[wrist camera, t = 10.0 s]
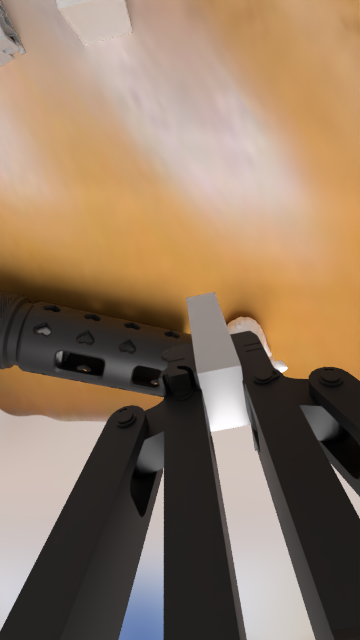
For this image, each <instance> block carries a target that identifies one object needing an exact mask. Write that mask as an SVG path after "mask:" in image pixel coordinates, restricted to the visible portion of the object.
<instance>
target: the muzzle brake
mask: <svg viewBox="0 0 360 640" xmlns="http://www.w3.org/2000/svg"><path fill="white" fill-rule="evenodd" d="M190 343H192V336H191V334H187V333H183V332H178V331H174V330H169V329H165V328H160V327H156V326H151V325H146V324H142V323H137V322H133V321H128V320H124V319H119V318H115V317H110V316H106V315H101V314H97V313H92V312H88V311H83V310H79V309H74V308H69V307H65V306H60V305H56V304H51V303H47V302H43V301H40V302H37V303H35V304H33V303H31V302H30V300H29V299H28V298H26V297H25V296H24V295H21V294H17V293H12V292H8V291H3V290H0V369H5V368H11V367H12V366H13V365H17V366H19V368H20V369H21V370H22V371H26V372H32V373H37V374H42V375H48V376H53V377H59V378H64V379H69V380H75V381H81V382H85V383H91V384H96V385H101V386H107V387H112V388H119V389H123V390H128V391H133V392H139V393H144V394H149V395H157V396H160V397H164V395H163V392H162V389H161V385H160V382H159V376H160V374H161V373H162V372H163V370H165V369H166V368H167V363H168V362H167V354H168V352H169V351H170V349H171V348H172V347H175V346H180V345H185V344H190ZM83 369H85V370H86V371H84V370H83ZM155 383H157V384H155Z"/></svg>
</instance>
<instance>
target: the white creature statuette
mask: <svg viewBox="0 0 360 640" xmlns="http://www.w3.org/2000/svg"><path fill="white" fill-rule="evenodd" d="M227 328H228V331H229V333H230V334H235V333H240V332H245V331H251V332H253V333H255V334H256V335H258V337H259V339H260V341H261V343H262V345H263V347H264V349H265V351H266V353H267V355H268V357H269V359H270V361H271V363H272V365H273V366H274V368H275V369H277V370H279V371H280V372H284V371H285V370H287V369H288V367H287V366H286V365H285V364H284V363H283V361H282V360H277V361H274V357H271V355H272V353H271V352H270V349H269V347H268V346H267V343H266V340H265V339H266V338H265V335H264V333H263V330H262V329H261V326H260V325H259V324H257V322H256V321H255V320H253V319H252V318H250V317H239V318H236V319H235V320H232V321H231V322H230V323H228V325H227Z"/></svg>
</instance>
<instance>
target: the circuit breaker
mask: <svg viewBox="0 0 360 640" xmlns="http://www.w3.org/2000/svg"><path fill="white" fill-rule="evenodd" d="M5 20H6V21H5ZM6 22H7V23H6ZM7 24H8V25H7ZM11 37H13V38H14V40H15V42H13V40H12V39H10V38H11ZM18 51H20V53H21V54H22V55H23V54H25V53H26V52H25V50H24V48H23V46H22V43H21V41H20V39H19V37H18V35H17V33H16V31H15V29H14V27H13V25H12V23H11V21H10V19H9V17H8V15H7V12H6V10H5V8H4V6H3V4H2V2H1V0H0V66H2V65H4V64H6V63H7V62H9V61H11V60H13V59H14V57H13V55H12V54H14V53H16V52H18Z"/></svg>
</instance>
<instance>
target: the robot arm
mask: <svg viewBox="0 0 360 640" xmlns="http://www.w3.org/2000/svg"><path fill="white" fill-rule="evenodd" d="M186 301H187V308H188V315H189V322H190V329H191V336H192V343H190V344H185V345H180V346H175V347H172V348H171V349H170V351H169V352H168V354H167V362H168V363H167V368H166V369H165V370H163V372H162V373H161V374H160V376H159V382H160V385H161V389H162V392H163V395H164V399H163V401H162V402H160V403H159V404H158V405H156V406H154V407H153V408H150V409H148V410H146V411H144V410H143V409H142V408H140V407H139V406H133V405H131V406H125V407H123V408H121V409H118V410H117V411H116V412H114V413H113V414H112V415H111V416H110V418H109V419H108V421H107V423H106V425H105V427H104V429H103V431H102V433H101V435H100V437H99V439H98V441H97V443H96V445H95V446H94V448H93V450H92V452H91V454H90V456H89V458H88V460H87V462H86V464H85V466H84V468H83V470H82V472H81V474H80V476H79V478H78V480H77V482H76V484H75V486H74V488H73V490H72V492H71V493H70V495H69V497H68V499H67V501H66V504H65V505H64V507H63V509H62V511H61V513H60V515H59V517H58V519H57V521H56V523H55V525H54V527H53V529H52V531H51V533H50V535H49V537H48V539H47V541H46V543H45V545H44V546H43V548H42V550H41V552H40V554H39V556H38V558H37V560H36V562H35V564H34V566H33V568H32V570H31V572H30V574H29V576H28V578H27V580H26V582H25V584H24V586H23V588H22V590H21V592H20V594H19V596H18V598H17V600H16V602H15V603H14V605H13V607H12V609H11V611H10V613H9V615H8V617H7V619H6V621H5V623H4V625H3V627H2V629H1V631H0V640H118V639H119V635H120V631H121V627H122V623H123V620H124V616H125V612H126V608H127V605H128V601H129V597H130V593H131V590H132V586H133V582H134V579H135V575H136V571H137V567H138V564H139V560H140V556H141V552H142V549H143V545H144V541H145V537H146V533H147V530H148V526H149V522H150V519H151V515H152V511H153V507H154V504H155V500H156V496H157V492H158V488H159V485H160V481H161V477H162V474H163V468H164V640H247V639H246V633H245V628H244V621H243V615H242V610H241V604H240V598H239V592H238V586H237V580H236V574H235V569H234V562H233V557H232V551H231V545H230V539H229V533H228V527H227V522H226V515H225V510H224V504H223V498H222V492H221V486H220V480H219V474H218V468H217V462H216V457H215V450H214V445H213V440H212V436H211V432H212V431H217V430H223V429H228V428H234V427H239V426H245V425H250V423H251V427H252V433H253V440H254V447H255V451H256V450H257V451H258V454H259V457H260V461H261V464H262V467H263V471H264V474H265V477H266V480H267V484H268V487H269V490H270V493H271V496H272V500H273V503H274V506H275V509H276V513H277V516H278V519H279V522H280V526H281V529H282V532H283V535H284V538H285V542H286V545H287V548H288V551H289V555H290V558H291V561H292V564H293V568H294V571H295V574H296V578H297V581H298V584H299V587H300V590H301V593H302V597H303V600H304V603H305V607H306V610H307V613H308V617H309V620H310V623H311V626H312V630H313V632H314V636H315V639H316V640H360V518H359V516H358V515H357V513H356V511H355V509H354V507H353V505H352V504H351V501H350V499H349V498H348V496H347V494H346V492H345V490H344V488H343V487H342V484H341V483H340V481H339V479H338V477H337V475H336V473H335V471H334V469H333V468H332V466H331V464H332V465H333V466H334V468H335V469H336V470H337V471H338V472H339V473H340V474H341V475H342V477H343V478H344V479H345V480H346V481H347V483H348V484H349V485H350V486H351V487H352V488H353V489H354V490H355V492H356V493H357V494H358V495H359V496H360V381H359V380H358V379H356V378H355V377H354V376H352V375H351V374H349V373H348V372H346V371H344V370H342V369H339V368H335V367H323V368H318V369H316V370H314V371H312V372H311V374H310V375H309V379H294V378H289V377H285V376H283V374H282V373H281V372H280V371H279V370H277V369H275V368H274V366H273V365H272V363H271V361H270V359H269V357H268V355H267V353H266V351H265V349H264V347H263V345H262V343H261V341H260V339H259V337H258V335H256V334H255V333H253V332H251V331H245V332H240V333H235V334H230V333H229V331H228V328H227V325H226V322H225V320H224V317H223V314H222V311H221V308H220V306H219V303H218V300H217V297H216V295H215V292H212V293H207V294H203V295H198V296H193V297H188V298H186ZM249 420H250V421H249ZM330 463H331V464H330Z"/></svg>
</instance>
